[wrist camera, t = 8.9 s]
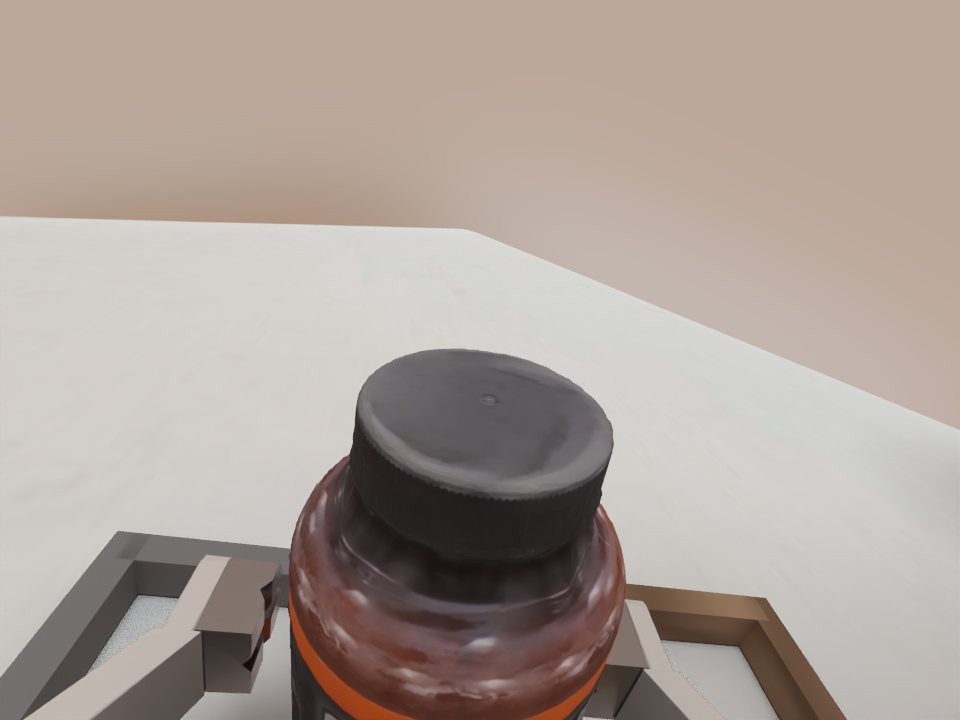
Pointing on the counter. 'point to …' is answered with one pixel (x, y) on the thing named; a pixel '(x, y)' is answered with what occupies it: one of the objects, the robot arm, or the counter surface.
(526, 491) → the supplement bottle
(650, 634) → the robot arm
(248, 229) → the counter surface
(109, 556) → the charcoal bay
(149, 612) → the counter surface
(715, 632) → the walnut bay
